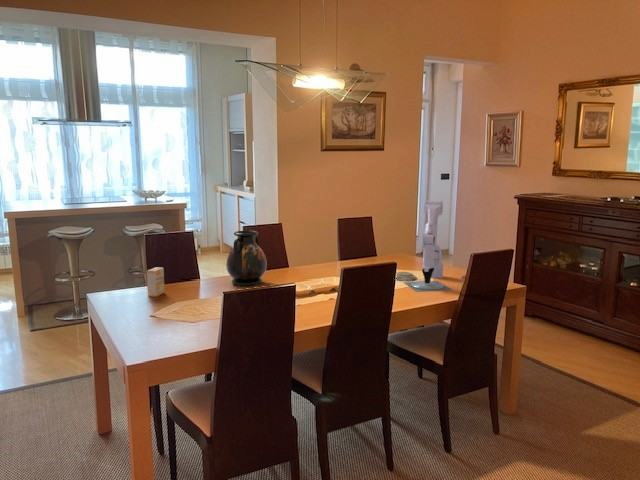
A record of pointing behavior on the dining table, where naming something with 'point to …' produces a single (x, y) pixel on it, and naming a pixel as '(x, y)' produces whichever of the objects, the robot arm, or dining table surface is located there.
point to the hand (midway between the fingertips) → (427, 282)
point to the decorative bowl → (405, 276)
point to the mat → (427, 290)
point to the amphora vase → (246, 260)
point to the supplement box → (155, 281)
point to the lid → (427, 285)
